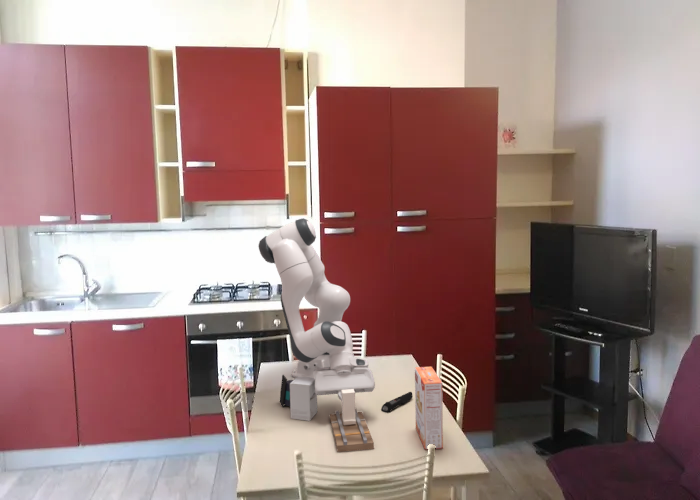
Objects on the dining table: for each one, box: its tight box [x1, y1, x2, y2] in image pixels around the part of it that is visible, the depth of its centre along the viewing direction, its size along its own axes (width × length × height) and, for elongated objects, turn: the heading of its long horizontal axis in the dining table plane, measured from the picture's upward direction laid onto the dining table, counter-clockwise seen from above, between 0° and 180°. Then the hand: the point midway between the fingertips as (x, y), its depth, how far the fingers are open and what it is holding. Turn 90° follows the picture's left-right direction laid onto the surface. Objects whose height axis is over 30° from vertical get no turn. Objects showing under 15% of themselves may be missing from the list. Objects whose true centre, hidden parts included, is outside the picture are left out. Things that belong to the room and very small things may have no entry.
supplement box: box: [289, 376, 318, 422], centre depth 182 cm, size 7×7×13 cm
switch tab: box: [341, 389, 356, 425], centre depth 172 cm, size 5×4×10 cm
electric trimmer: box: [380, 391, 413, 414], centre depth 190 cm, size 4×16×3 cm, turn 137°
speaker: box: [278, 374, 294, 408], centre depth 191 cm, size 8×6×10 cm
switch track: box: [329, 408, 375, 453], centre depth 169 cm, size 22×11×3 cm, turn 8°
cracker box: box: [414, 366, 444, 450], centre depth 163 cm, size 14×6×21 cm, turn 4°
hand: (346, 405), depth 174 cm, fingers closed, pressing on switch tab
